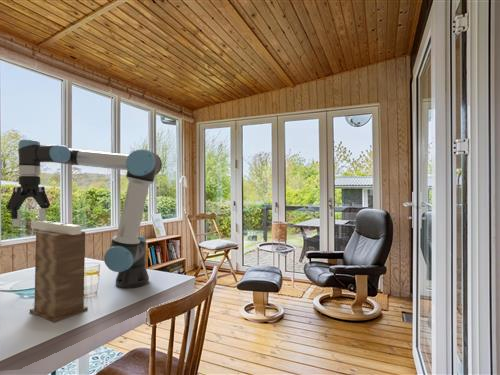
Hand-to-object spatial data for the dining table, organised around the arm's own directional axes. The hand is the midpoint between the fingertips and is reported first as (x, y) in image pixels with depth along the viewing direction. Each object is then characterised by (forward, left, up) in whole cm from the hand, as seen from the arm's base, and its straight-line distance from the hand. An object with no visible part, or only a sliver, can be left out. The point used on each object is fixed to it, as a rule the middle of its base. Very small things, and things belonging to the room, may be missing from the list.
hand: (30, 224), depth 127 cm
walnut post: (-21, +22, -30) cm, 43 cm away
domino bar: (-18, +19, 0) cm, 26 cm away
